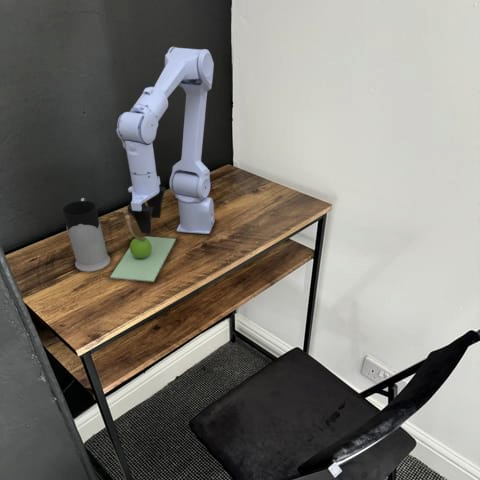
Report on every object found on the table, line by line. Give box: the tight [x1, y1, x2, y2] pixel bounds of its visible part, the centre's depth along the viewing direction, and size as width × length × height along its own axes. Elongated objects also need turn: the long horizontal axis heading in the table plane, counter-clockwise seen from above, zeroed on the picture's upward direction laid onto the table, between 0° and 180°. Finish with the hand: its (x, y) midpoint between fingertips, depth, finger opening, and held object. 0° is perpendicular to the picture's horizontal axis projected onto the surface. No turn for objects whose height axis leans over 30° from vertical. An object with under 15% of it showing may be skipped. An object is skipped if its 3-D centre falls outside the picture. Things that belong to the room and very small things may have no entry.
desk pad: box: [109, 235, 177, 283], centre depth 119 cm, size 11×20×1 cm, turn 171°
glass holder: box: [62, 197, 111, 272], centre depth 115 cm, size 9×14×15 cm, turn 11°
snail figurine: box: [123, 209, 152, 258], centre depth 115 cm, size 5×6×12 cm
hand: (151, 224), depth 111 cm, fingers open, 7 cm apart
